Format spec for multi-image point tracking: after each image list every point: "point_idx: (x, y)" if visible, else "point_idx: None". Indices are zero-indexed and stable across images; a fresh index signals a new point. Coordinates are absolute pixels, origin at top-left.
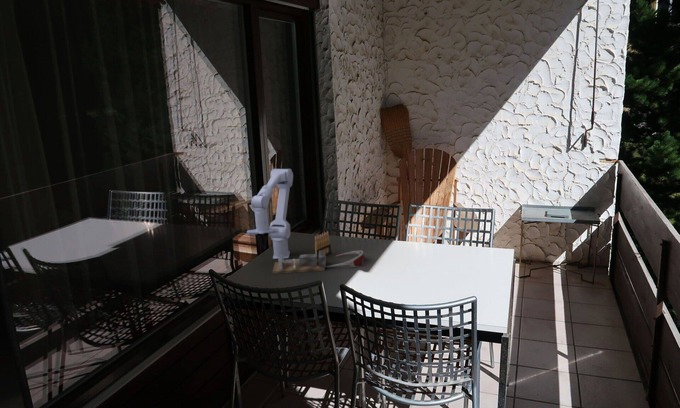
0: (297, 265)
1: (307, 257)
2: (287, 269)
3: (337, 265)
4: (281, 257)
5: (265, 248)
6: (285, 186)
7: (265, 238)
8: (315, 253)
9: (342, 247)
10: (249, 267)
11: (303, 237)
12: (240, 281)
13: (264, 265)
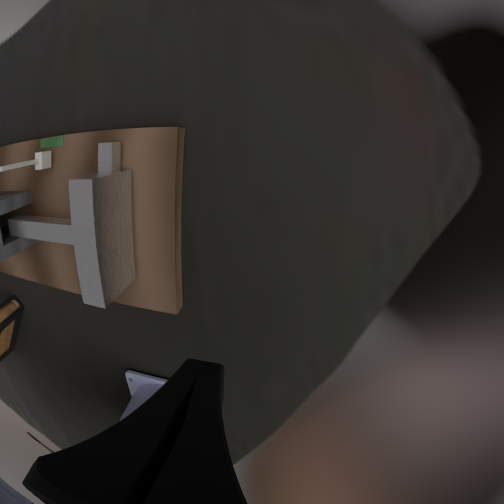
0: (44, 215)
1: None
2: (82, 150)
3: None
4: (79, 249)
5: (183, 364)
6: None
7: (87, 463)
8: (4, 318)
9: (5, 371)
10: (358, 308)
11: None
12: (416, 51)
13: (254, 317)
